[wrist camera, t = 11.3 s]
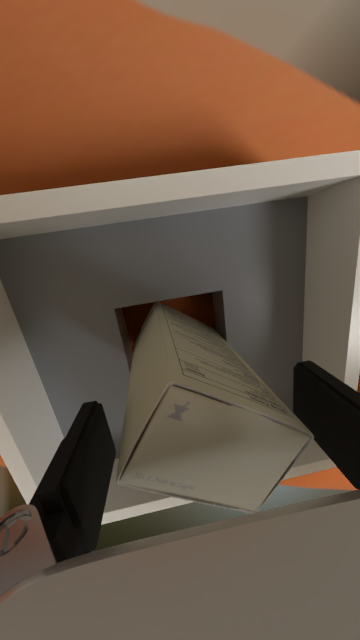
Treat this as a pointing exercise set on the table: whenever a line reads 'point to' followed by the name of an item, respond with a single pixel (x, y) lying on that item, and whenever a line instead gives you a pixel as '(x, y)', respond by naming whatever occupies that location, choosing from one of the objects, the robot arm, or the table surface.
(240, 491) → the skincare box
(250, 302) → the bore box
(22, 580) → the robot arm
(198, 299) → the table surface
